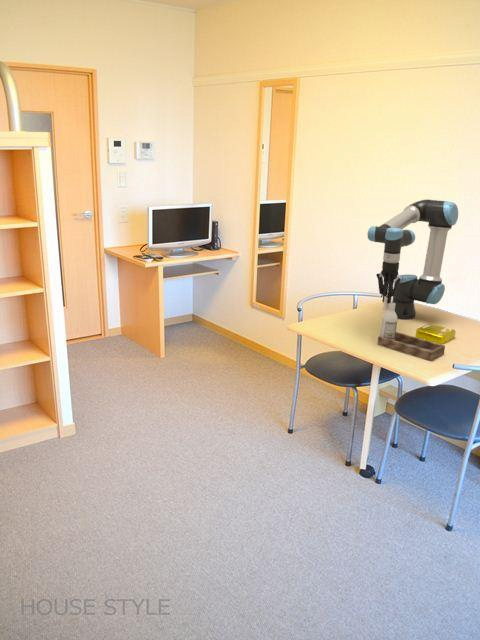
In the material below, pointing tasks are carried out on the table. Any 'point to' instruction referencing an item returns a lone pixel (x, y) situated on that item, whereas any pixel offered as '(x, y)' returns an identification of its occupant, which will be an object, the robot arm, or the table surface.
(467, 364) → the table surface
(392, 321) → the bath foam
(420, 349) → the brown wooden tray
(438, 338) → the element tile
